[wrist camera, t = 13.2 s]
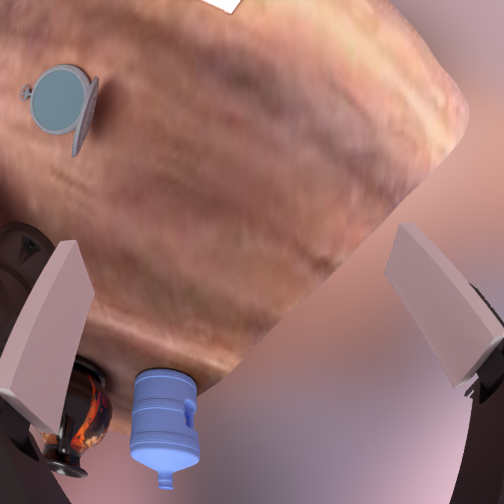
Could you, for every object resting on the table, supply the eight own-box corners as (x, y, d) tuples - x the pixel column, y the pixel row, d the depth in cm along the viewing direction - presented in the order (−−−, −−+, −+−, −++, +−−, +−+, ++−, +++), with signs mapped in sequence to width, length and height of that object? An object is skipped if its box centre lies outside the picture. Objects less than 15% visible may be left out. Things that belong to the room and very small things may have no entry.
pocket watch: (70, 172, 27) (-26, 146, 22) (100, 144, 36) (17, 123, 31) (92, 80, 22) (-14, 64, 17) (122, 75, 31) (32, 58, 26)
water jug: (129, 388, 69) (123, 487, 47) (143, 360, 62) (136, 477, 40) (183, 401, 75) (187, 495, 53) (206, 375, 68) (214, 485, 46)
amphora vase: (105, 399, 72) (97, 487, 50) (37, 371, 63) (17, 460, 40) (127, 366, 64) (117, 478, 41) (43, 332, 54) (11, 442, 32)
